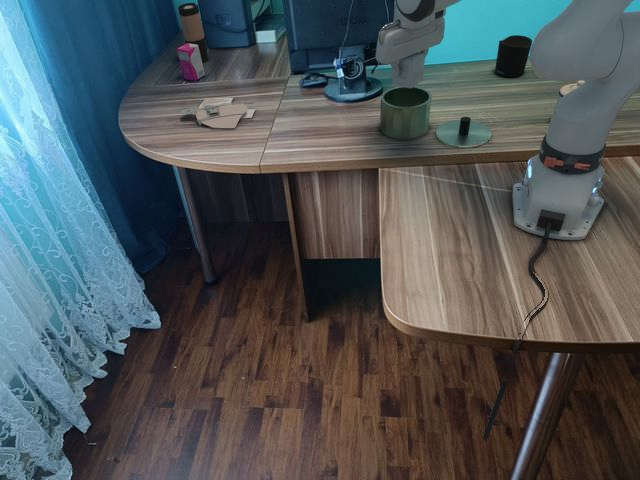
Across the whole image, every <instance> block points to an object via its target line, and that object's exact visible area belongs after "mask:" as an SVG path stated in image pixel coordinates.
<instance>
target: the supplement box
mask: <svg viewBox="0 0 640 480" xmlns="http://www.w3.org/2000/svg"><path fill="white" fill-rule="evenodd" d="M176 52H177V56H178V59H179V64H180V67H181V71H182V75H183V79H184V81H190V82H192V83H193V82H194V83H196V82H198V81H200V80H201V79H203V78H204V77H206V73H205V69H204V65H203V64H204V63H202V60H201V55H200V51H199V47H198V45H196V44H189V43H187V44H186V43H185V44H184V45H181V46H179V47H177V48H176Z"/></svg>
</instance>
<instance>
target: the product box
mask: <svg viewBox="0 0 640 480" xmlns="http://www.w3.org/2000/svg"><path fill="white" fill-rule="evenodd" d="M425 60H426V58H425V53H421V52H418V53H416V54H413V55H411V56H408V57H406V58H403V59H400V60H399V64H397V65H398V67H399V68H401V69H402V71H401V75H399V76H397V77H396V76H393V71H391V72H392V74H391V75H392V77H391V84H392V85H394V86H398V87H400V86H403V87H407V88H412V87H414V86H415V87H416V86H417V85H418V84H420V83H422V82H423V81H424V76H425V75H424V74H425V62H426V61H425Z"/></svg>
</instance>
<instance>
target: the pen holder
mask: <svg viewBox="0 0 640 480" xmlns="http://www.w3.org/2000/svg"><path fill="white" fill-rule="evenodd" d="M532 43H533V40H532V39H531V38H530V37H528V36H525V35H519V34H518V35H517V34H516V35H515V34H514V35H510V36H507V37H505V38H504V39H502V40H499V41H498V48H497V54H496V60H495V68H494V69H495V70H494V73H495V74H496V76H498V77H501V78H505V79H514V78H519V77H521V76H522V75H523V74H524V72H525V69H526V66H527V63H528V58H529V56H530V50H531V46H532Z"/></svg>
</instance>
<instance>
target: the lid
mask: <svg viewBox="0 0 640 480" xmlns="http://www.w3.org/2000/svg"><path fill="white" fill-rule="evenodd" d="M435 136H436V139H437V140H438V141H439V142H440V143H442V144H444V145H446V146H449V147H452V148H456V149H457V148H458V149H473V148H479V147H482V146H484V145H486V144H488V142H489V141H491V139H492V136H493V134H492V130H491V129H490V127H488V126H487V124H484V123H481V122H479V121H475V120H472V119H471V117H469V116H462V117H460V119H455V120H450V121H449V120H448V121H446V122H443V123H442V124H441V125H438V127H437V128H436V132H435ZM488 140H489V141H488ZM486 141H487V142H486ZM474 142H475V144H476V143H477V144H478V143H480V144H481V142H486V143H484V144H481V145H478V146H472V147H459V146H467V145H468V146H470V145H471V144H472V145H473V143H474ZM453 145H454V146H453Z"/></svg>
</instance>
